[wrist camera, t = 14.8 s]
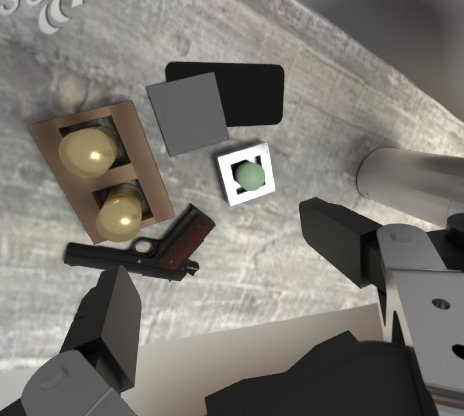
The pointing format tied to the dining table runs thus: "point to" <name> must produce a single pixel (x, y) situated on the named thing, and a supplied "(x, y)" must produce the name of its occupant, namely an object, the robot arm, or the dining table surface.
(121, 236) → the billet seated
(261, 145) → the button housing
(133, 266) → the handgun
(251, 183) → the button
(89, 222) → the brown wooden rectangular frame
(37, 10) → the dining table surface
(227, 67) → the smartphone
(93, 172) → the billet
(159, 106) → the mat
